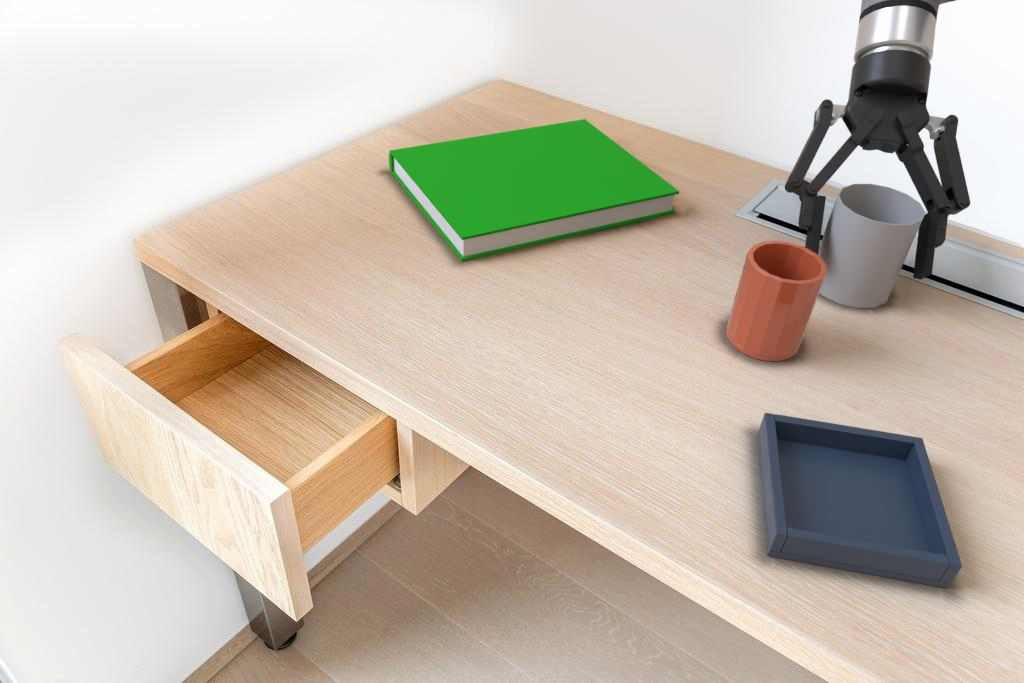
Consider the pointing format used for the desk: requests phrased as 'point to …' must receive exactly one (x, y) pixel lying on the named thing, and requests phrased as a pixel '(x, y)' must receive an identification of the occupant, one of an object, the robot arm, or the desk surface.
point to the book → (528, 187)
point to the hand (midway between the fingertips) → (865, 268)
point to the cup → (867, 243)
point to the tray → (853, 501)
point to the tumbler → (775, 300)
